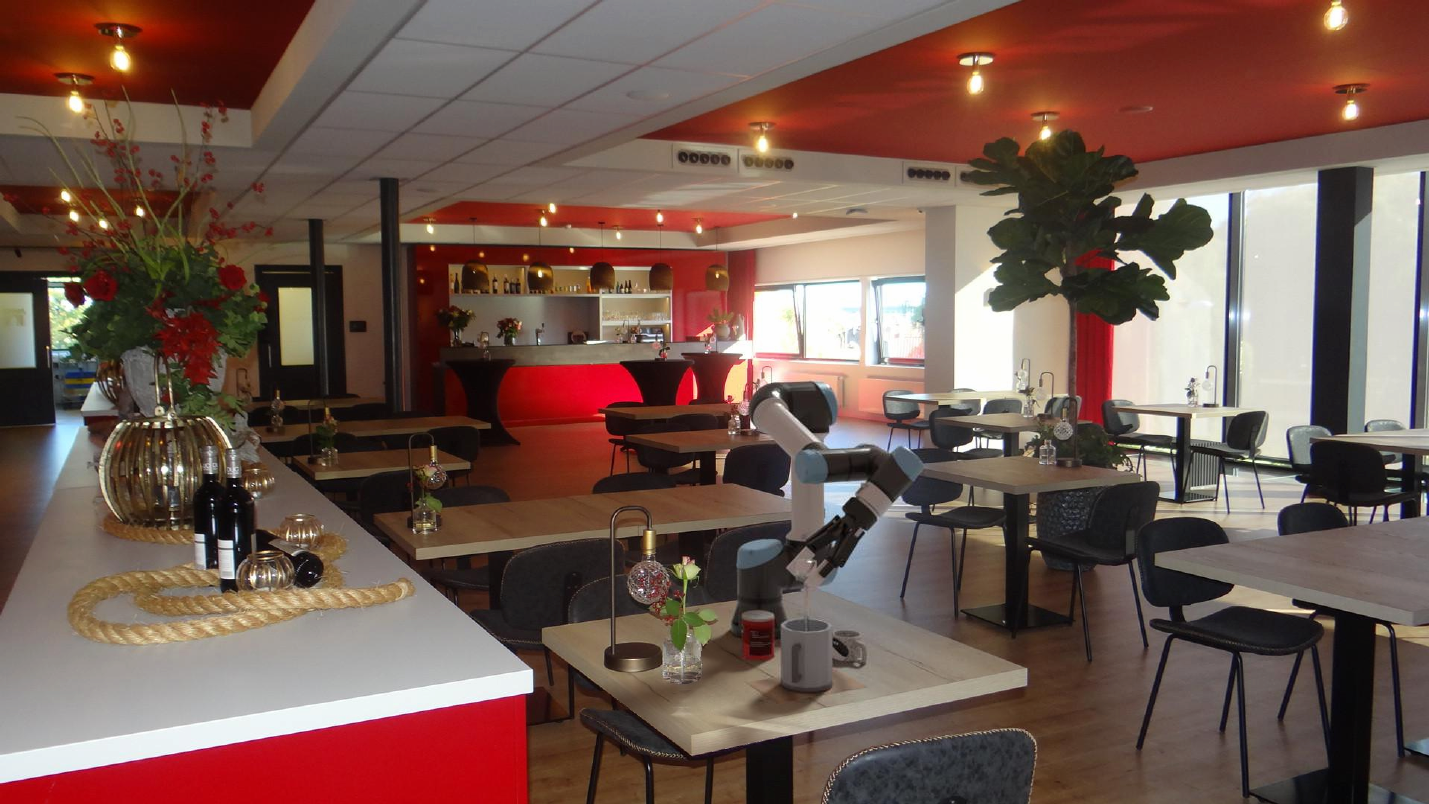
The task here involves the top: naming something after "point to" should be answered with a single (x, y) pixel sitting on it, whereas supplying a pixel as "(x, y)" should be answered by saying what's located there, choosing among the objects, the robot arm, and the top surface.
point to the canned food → (758, 635)
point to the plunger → (802, 573)
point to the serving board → (781, 695)
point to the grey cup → (806, 656)
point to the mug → (848, 646)
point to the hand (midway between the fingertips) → (799, 579)
